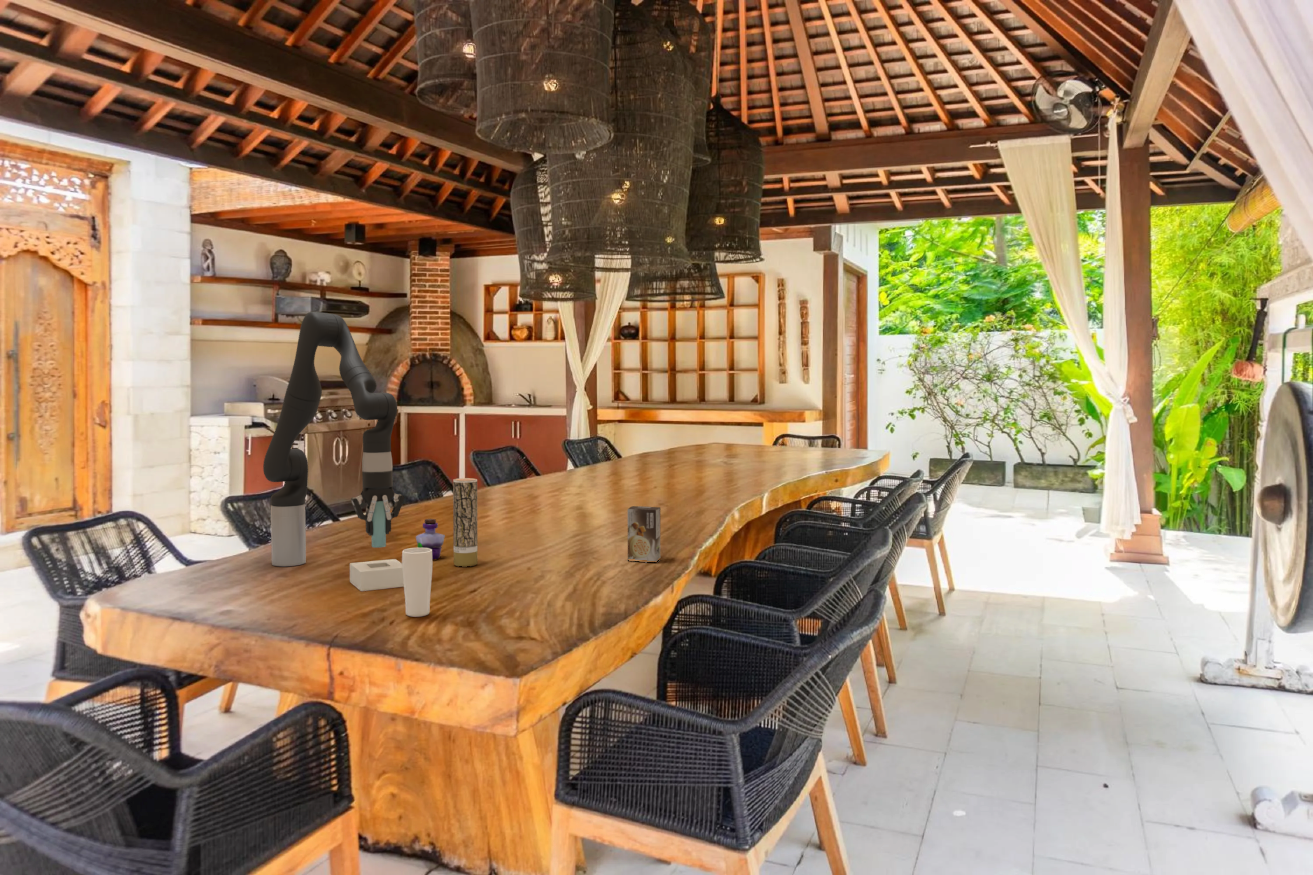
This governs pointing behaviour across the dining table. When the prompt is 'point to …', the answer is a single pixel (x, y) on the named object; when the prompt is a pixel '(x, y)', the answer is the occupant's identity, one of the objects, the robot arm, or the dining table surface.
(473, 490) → the paper tube
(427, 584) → the drinking glass
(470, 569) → the dining table surface
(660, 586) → the dining table surface
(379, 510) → the peg
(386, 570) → the socket block
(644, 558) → the coffee box
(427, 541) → the potion bottle
